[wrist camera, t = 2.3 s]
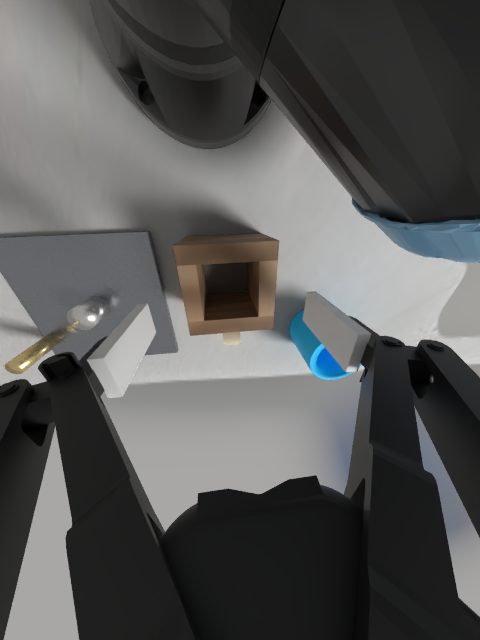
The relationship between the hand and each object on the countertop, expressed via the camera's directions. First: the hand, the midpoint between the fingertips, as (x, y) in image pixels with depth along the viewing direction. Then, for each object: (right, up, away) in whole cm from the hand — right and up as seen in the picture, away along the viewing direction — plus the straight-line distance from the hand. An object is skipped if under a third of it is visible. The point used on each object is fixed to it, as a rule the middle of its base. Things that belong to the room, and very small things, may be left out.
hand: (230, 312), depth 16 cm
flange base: (-19, +2, +11) cm, 22 cm away
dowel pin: (-27, -3, +12) cm, 30 cm away
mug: (+15, -2, +17) cm, 23 cm away
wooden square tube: (-1, +4, +11) cm, 12 cm away
